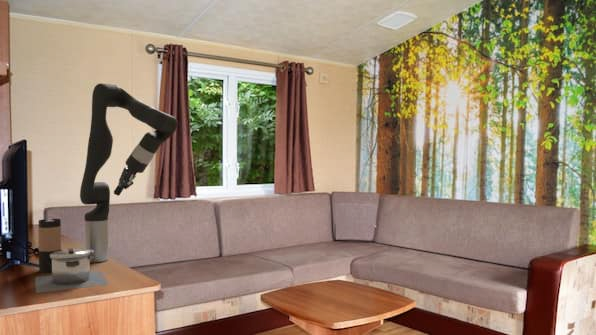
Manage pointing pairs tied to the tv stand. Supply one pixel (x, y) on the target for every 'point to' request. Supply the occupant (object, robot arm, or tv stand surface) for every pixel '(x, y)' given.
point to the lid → (71, 253)
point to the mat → (46, 285)
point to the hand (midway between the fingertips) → (116, 194)
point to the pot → (71, 270)
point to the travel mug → (48, 243)
